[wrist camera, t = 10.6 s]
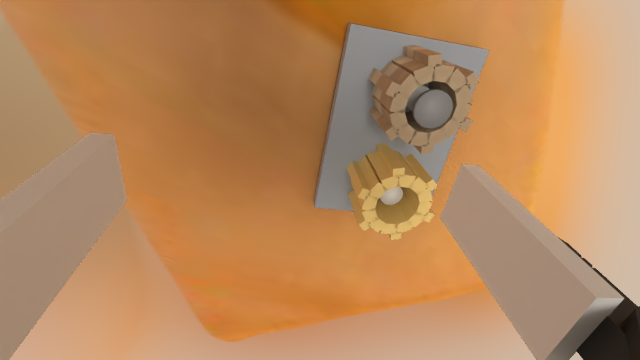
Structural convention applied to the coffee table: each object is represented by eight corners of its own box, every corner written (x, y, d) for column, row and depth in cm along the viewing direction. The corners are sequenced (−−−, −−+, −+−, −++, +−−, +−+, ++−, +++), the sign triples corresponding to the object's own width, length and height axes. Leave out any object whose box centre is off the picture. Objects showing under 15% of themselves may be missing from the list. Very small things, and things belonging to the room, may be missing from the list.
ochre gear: (354, 138, 34) (366, 163, 29) (427, 148, 36) (451, 173, 31) (338, 204, 38) (346, 236, 33) (404, 210, 40) (423, 242, 35)
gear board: (348, 22, 30) (368, 29, 23) (481, 48, 33) (535, 61, 26) (313, 200, 40) (320, 244, 33) (419, 210, 42) (446, 252, 35)
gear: (377, 38, 30) (398, 46, 25) (460, 53, 31) (496, 64, 26) (357, 125, 34) (370, 147, 29) (431, 135, 35) (457, 158, 30)
